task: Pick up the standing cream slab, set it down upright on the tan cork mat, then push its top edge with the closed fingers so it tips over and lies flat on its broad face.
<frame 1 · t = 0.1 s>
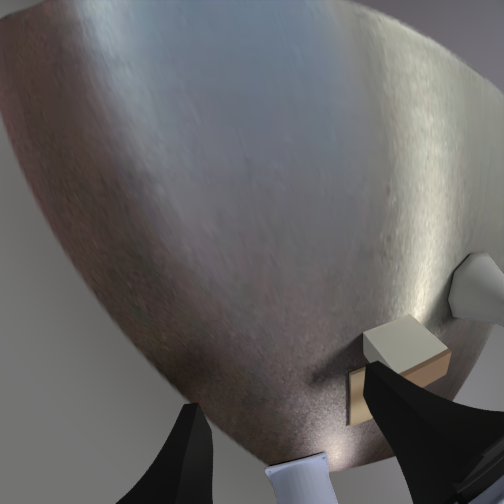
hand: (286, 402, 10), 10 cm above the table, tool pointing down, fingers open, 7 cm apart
cork mat: (383, 387, 25), on the table
cream slab: (387, 333, 23), on the table
flask: (467, 283, 23), on the table
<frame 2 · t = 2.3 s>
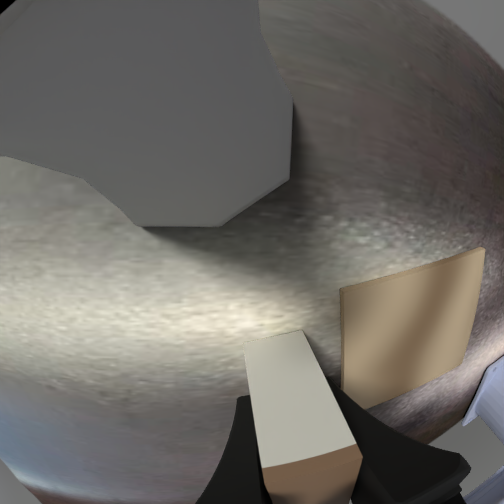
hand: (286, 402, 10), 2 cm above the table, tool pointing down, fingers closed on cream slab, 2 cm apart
cork mat: (417, 335, 12), on the table
cream slab: (279, 378, 12), on the table, touching gripper
flask: (190, 127, 9), on the table
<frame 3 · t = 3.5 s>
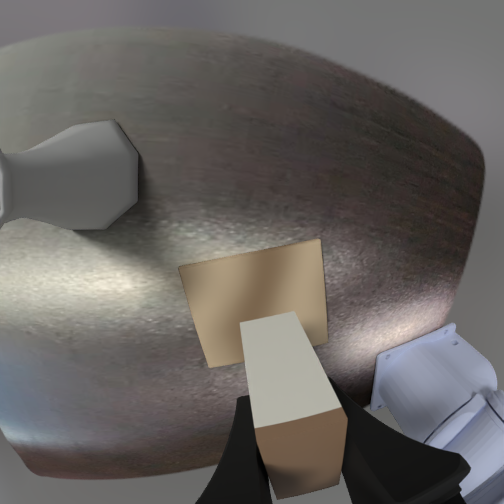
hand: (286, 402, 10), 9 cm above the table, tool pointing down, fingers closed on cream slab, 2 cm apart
cork mat: (260, 308, 19), on the table
cream slab: (274, 359, 13), point 6 cm above the table, touching gripper
flask: (91, 175, 15), on the table
when the fingers open (3 cm above the table, at t = 4.8 s): cream slab stays where it is, resting on cork mat.
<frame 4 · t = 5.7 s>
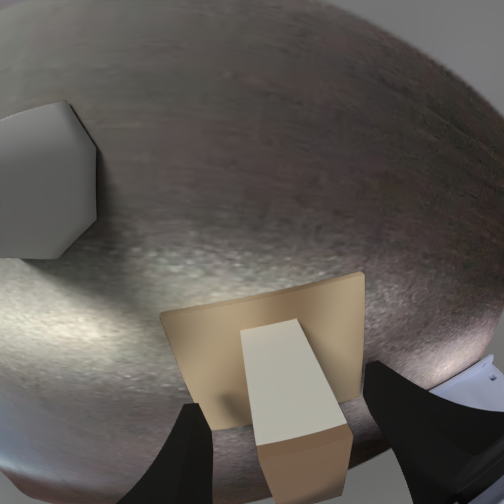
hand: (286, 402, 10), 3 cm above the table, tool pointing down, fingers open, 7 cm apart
cork mat: (275, 364, 13), on the table
cream slab: (276, 367, 13), resting on cork mat
flask: (38, 182, 10), on the table
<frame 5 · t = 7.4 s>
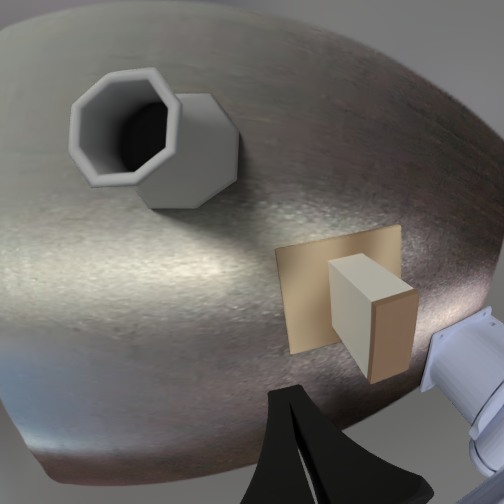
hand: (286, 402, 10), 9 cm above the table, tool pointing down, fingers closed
cork mat: (345, 290, 19), on the table
cream slab: (347, 291, 18), resting on cork mat
flask: (179, 150, 15), on the table
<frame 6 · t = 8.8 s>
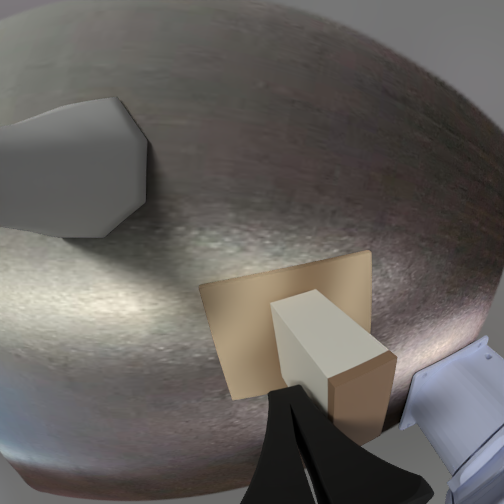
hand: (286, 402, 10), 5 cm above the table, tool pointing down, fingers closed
cork mat: (296, 332, 15), on the table
cream slab: (298, 336, 15), point 1 cm above the table, tilted 9°, touching cork mat, gripper
flask: (86, 168, 12), on the table
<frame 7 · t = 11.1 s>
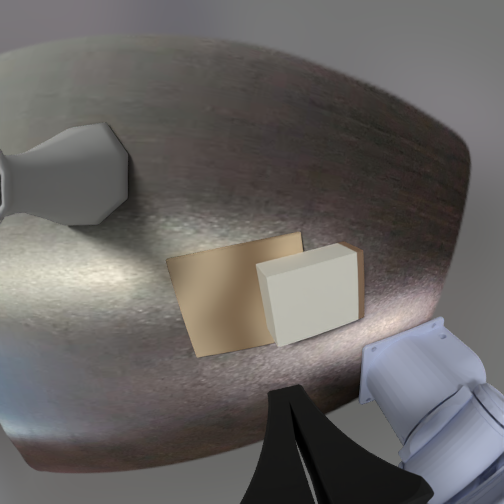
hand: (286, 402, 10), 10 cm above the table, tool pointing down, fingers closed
cork mat: (244, 299, 20), on the table
cream slab: (267, 306, 18), point 2 cm above the table, tilted 97°, touching cork mat
flask: (85, 174, 16), on the table
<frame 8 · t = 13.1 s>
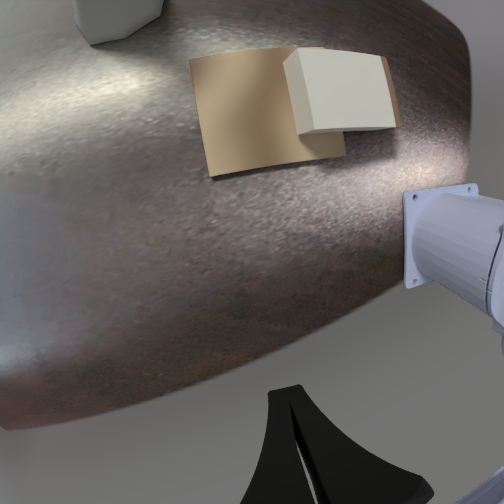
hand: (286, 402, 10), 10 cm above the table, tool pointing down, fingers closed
cork mat: (269, 104, 16), on the table
cream slab: (297, 92, 14), point 2 cm above the table, tilted 97°, touching cork mat
flask: (121, 8, 13), on the table
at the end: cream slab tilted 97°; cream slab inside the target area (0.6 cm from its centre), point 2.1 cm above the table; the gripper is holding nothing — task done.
